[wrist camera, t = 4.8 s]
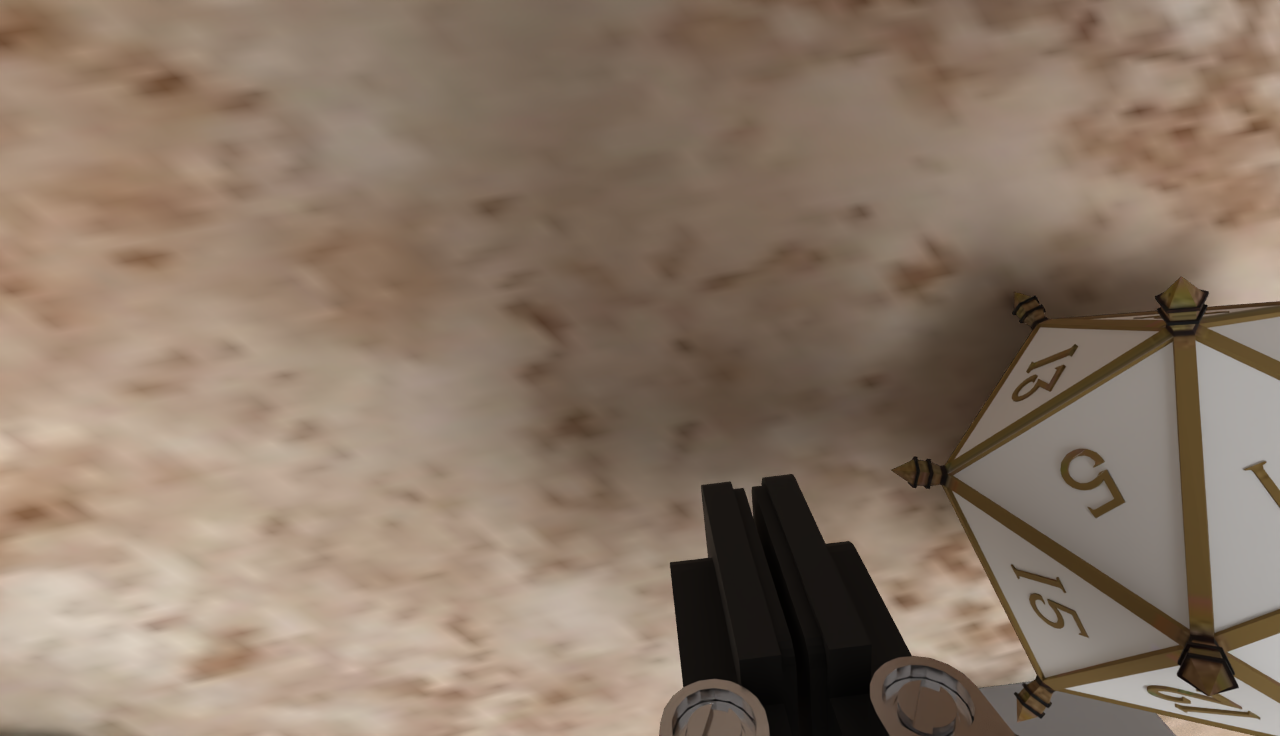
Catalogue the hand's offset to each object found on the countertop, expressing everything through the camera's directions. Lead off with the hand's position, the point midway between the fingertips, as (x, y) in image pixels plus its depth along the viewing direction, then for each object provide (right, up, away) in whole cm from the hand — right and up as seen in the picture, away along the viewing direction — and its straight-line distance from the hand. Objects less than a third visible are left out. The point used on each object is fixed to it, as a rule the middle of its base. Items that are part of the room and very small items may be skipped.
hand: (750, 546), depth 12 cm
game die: (+7, +3, +3) cm, 9 cm away
